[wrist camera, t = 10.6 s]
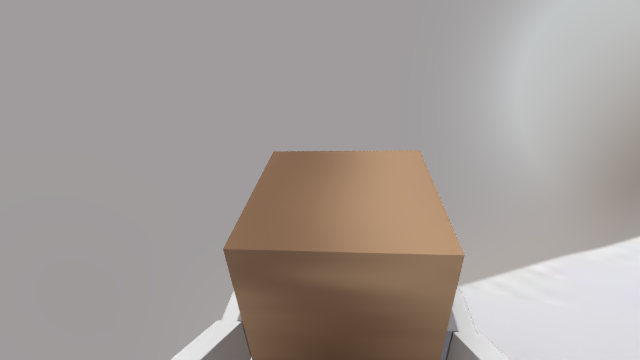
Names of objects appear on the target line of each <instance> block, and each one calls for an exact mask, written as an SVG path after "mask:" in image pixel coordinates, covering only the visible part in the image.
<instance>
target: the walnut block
mask: <svg viewBox="0 0 640 360" xmlns="http://www.w3.org/2000/svg"><path fill="white" fill-rule="evenodd" d="M223 250H224V254H225V258H226V261H227V265H228V269H229V273H230V277H231V280H232V284H233V288H234V292H235V295H236V299H237V303H238V307H239V311H240V314H241V318H242V322H243V326H244V330H245V333H246V337H247V341H248V345H249V348H250V352H251V356H252V360H440V358H441V354H442V350H443V345H444V341H445V337H446V332H447V328H448V324H449V319H450V315H451V311H452V306H453V302H454V298H455V293H456V289H457V285H458V281H459V276H460V272H461V267H462V263H463V259H464V253H463V251H462V249H461V246H460V245H459V242H458V239H457V237H456V235H455V232H454V230H453V227H452V225H451V223H450V220H449V218H448V216H447V213H446V211H445V209H444V206H443V205H442V202H441V200H440V197H439V195H438V192H437V190H436V187H435V185H434V183H433V181H432V178H431V176H430V174H429V171H428V169H427V166H426V164H425V162H424V159H423V157H422V155H421V152H420V151H297V152H296V151H295V152H294V151H292V152H273V154H272V156H271V158H270V160H269V162H268V164H267V165H266V167H265V170H264V171H263V173H262V175H261V177H260V179H259V181H258V183H257V185H256V187H255V189H254V191H253V192H252V194H251V196H250V198H249V200H248V202H247V204H246V206H245V208H244V210H243V212H242V214H241V216H240V218H239V220H238V222H237V223H236V225H235V227H234V229H233V231H232V233H231V235H230V237H229V239H228V241H227V243H226V245H225V247H224V249H223Z"/></svg>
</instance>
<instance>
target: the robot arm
mask: <svg viewBox="0 0 640 360" xmlns="http://www.w3.org/2000/svg"><path fill="white" fill-rule="evenodd" d="M250 359H251V352H250V348H249V345H248V341H247V337H246V333H245V330H244V326H243V322H242V318H241V314H240V311H239V307H238V303H237V299H236V295H235V292H234V291H233V294H232V296H231V298H230V301H229V303H228V305H227V308H226V311H225V313H224V315H223V318H222V320H221V321H220V320H217V321H216V322H215V323H214V324H212V325H211V326H210V327H209V328H208V329H206V330H205V331H204V332H203V333H202V334H200V335H199V336H198V337H197V338H196V339H195V340H193V341H192V342H191V343H190V344H189V345H187V346H186V347H185V348H184V349H183V350H181V351H180V352H179V353H178V354H177V355H176V356H174V357H173V358H172V359H171V360H250ZM440 360H511V359H509V358H508V357H507V356H506V355H505V354H504V353H503V352H502V351H501V350H500V349H499V348H498V347H496V346H495V345H494V344H493V343H492V342H491V341H490V340H489V339H488V338H487V337H486V336H484V335H483V334H482V333H477V331H476V328H475V326H474V323H473V320H472V317H471V315H470V312H469V309H468V307H467V304H466V301H465V299H464V296H463V293H462V291H461V290H460V289H456V293H455V298H454V302H453V306H452V311H451V315H450V319H449V324H448V328H447V332H446V337H445V341H444V345H443V350H442V354H441V358H440Z"/></svg>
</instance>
